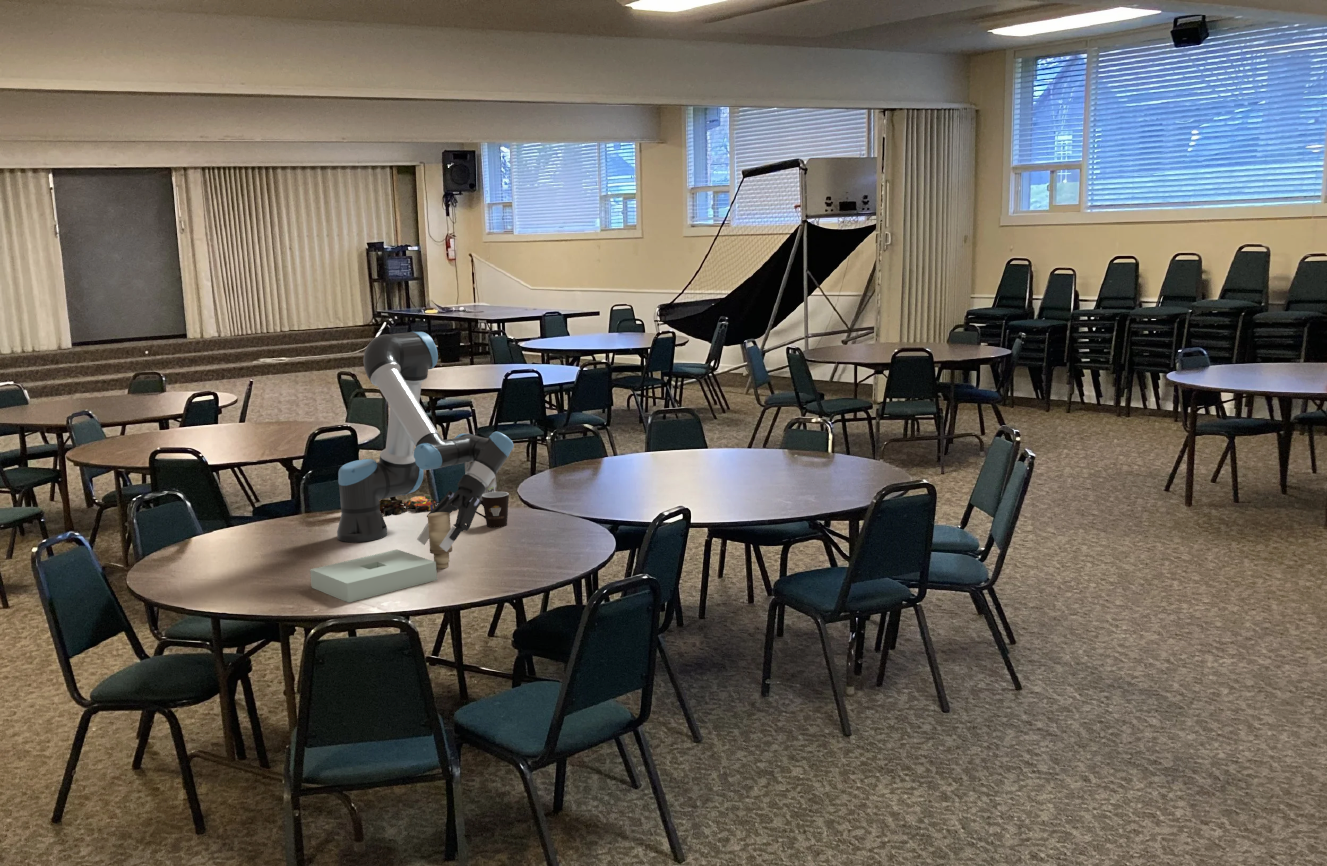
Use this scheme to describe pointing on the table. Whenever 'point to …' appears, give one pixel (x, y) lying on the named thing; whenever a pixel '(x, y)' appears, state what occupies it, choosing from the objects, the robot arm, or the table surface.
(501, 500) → the coffee mug
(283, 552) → the table surface
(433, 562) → the sage board
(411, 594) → the table surface
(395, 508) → the food
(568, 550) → the table surface
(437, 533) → the beech peg
